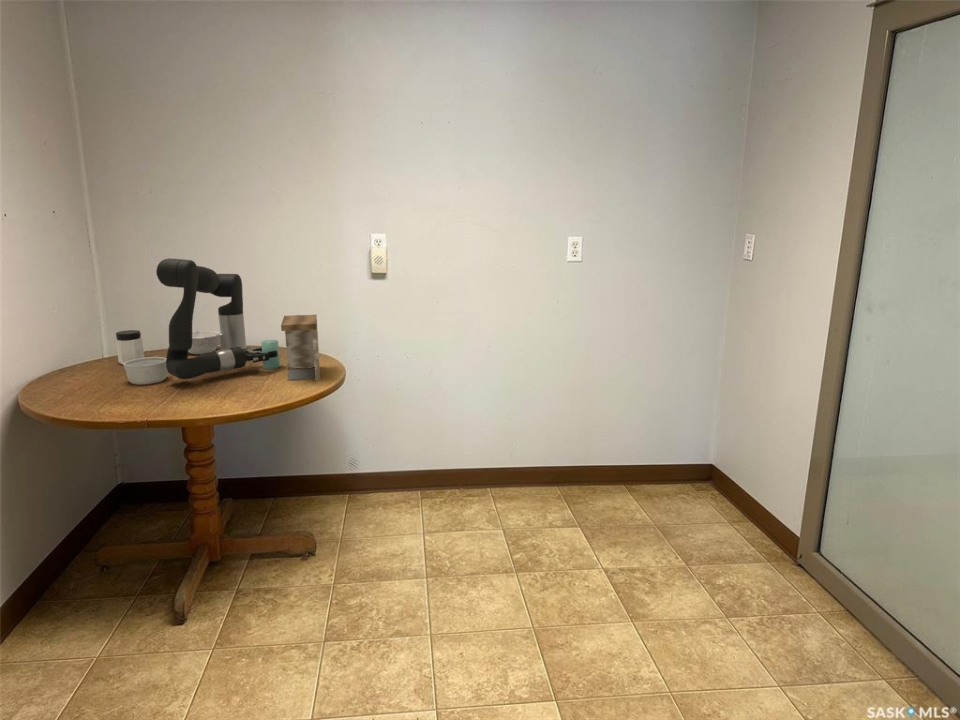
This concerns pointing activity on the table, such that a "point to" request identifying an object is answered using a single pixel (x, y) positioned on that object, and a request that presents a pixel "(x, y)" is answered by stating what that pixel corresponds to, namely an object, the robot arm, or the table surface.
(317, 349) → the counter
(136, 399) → the table surface
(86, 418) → the table surface
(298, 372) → the mat
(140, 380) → the ramekin
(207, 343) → the paper bowls
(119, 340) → the jar
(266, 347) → the teal cylinder
